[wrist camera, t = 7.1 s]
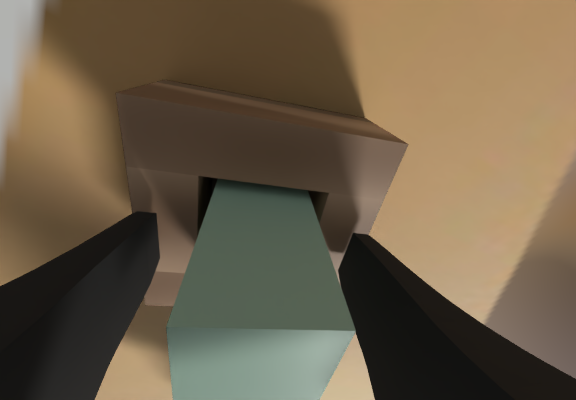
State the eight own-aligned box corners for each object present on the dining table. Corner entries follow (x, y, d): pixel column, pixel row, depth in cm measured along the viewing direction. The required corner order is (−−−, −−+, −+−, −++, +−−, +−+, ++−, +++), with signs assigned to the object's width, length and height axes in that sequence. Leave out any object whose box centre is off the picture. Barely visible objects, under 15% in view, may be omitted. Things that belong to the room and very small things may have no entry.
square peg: (286, 227, 13) (314, 409, 7) (220, 221, 13) (174, 414, 6) (300, 168, 12) (355, 330, 5) (224, 158, 11) (166, 327, 4)
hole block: (318, 257, 16) (333, 312, 13) (172, 246, 15) (145, 305, 11) (365, 118, 12) (408, 144, 8) (164, 79, 10) (115, 92, 7)
